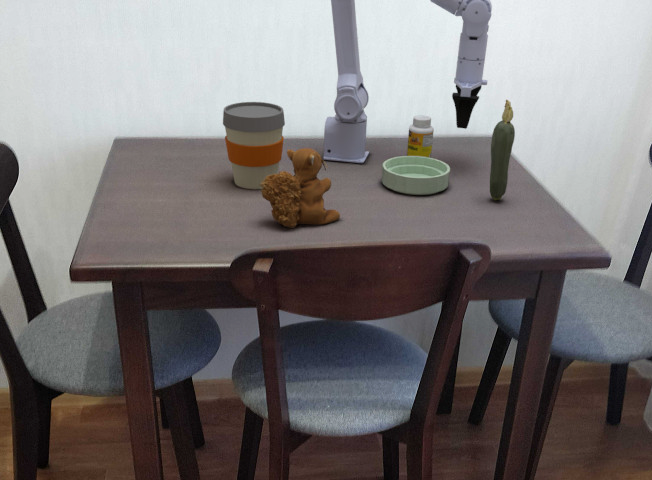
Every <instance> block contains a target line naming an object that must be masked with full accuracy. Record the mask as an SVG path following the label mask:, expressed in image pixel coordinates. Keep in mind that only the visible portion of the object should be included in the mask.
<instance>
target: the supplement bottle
mask: <svg viewBox="0 0 652 480" xmlns="http://www.w3.org/2000/svg"><path fill="white" fill-rule="evenodd" d="M431 124H432V117H430V116H428V115H422V114H421V115H420V114H417V115H414V116H413V119H412V124H410V125H409V127H408V135H407V136H408V137H407V146H406V147H407V149H406V156H422V157H428V158H432V151H433V142H434V141H433V140H434V130H435V129H434V127H433V125H431Z"/></svg>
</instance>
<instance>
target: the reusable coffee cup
mask: <svg viewBox="0 0 652 480" xmlns="http://www.w3.org/2000/svg"><path fill="white" fill-rule="evenodd" d="M222 112H223V113H222V126H224V128H225V130H224V131H225V136H224V140H225V146H226V153H227V156H228V158H227V159H228V161H229V162H230V165H231V170H232V175H233V181H234V184H235V185H236V186H237V187H239V188H243V189H247V190H262V189H263V188H264V187H262V186H260V185H259V183H261V182H262V180H265V178H266V177H267V176H268V175H273V174H278V173H279V165H280V162H281V161H282V157H283V149H284V148H283V147H284V139H285V138H284V136H283V131H284V130H283V129H284V126H285V125H286V122H285V112H284V108H283V107H282V106H281V105H278V104H275V103H270V102H262V101H244V102H243V101H242V102H235V103H232V104H228V105H226V106H225V107H224V108H223V111H222Z"/></svg>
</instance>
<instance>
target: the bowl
mask: <svg viewBox="0 0 652 480" xmlns="http://www.w3.org/2000/svg"><path fill="white" fill-rule="evenodd" d="M450 174H451V167H450V166H449V164H448V163H446V162H445V161H443V160H440V159H437V158H433V157H431V158H428V157H422V156H407V155H402V156H394V157H392V158H388V159H386V160H385V161H383V163H382V166H381V183H382V184H383V185H384V187H386V188H388V189H390V190H392V191H394V192H396V193H401V194H405V195H413V196H427V195H434V194H437V193H439V192H442V191H445V189H447V188H448V187H449V184H450V183H449V182H450Z"/></svg>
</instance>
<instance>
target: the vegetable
mask: <svg viewBox="0 0 652 480" xmlns="http://www.w3.org/2000/svg"><path fill="white" fill-rule="evenodd" d="M511 104H512V103H511V101H510V100H509V99H505V104H504V106H503V107H504V109H503V112H502V115H501V120H500V121H498V122H497V123H496V125H495V126H494V128H493V131H492V134H491V142H490V173H489V194H490V196H491V198H492V199H493V200H494V201H498V200H501V199H503V196H504V195H506V192H507V186H508V177H509V167H510V159H511V154H512V150H513V145H514V142H515V136H516V130H515V129H516V128H515V126H514V124H513V123H512V122H511V121H512V120H513V118H514V110H513V107H512V106H511Z"/></svg>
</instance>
